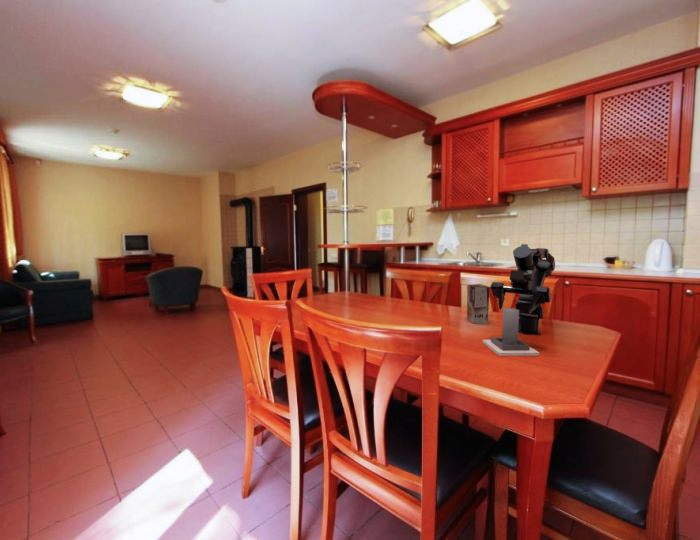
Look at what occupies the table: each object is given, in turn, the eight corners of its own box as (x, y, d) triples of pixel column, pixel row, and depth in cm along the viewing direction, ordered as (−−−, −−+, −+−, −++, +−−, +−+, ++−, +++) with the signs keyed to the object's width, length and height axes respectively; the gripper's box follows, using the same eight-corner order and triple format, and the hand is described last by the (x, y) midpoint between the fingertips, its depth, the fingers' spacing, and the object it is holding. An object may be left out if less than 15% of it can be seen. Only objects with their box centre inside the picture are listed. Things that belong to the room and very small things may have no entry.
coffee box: (488, 324, 143) (490, 287, 141) (473, 323, 143) (475, 287, 141) (480, 318, 152) (482, 283, 150) (466, 318, 152) (467, 283, 150)
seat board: (518, 342, 119) (518, 335, 119) (539, 355, 106) (539, 348, 106) (482, 342, 119) (482, 335, 118) (499, 355, 106) (499, 348, 106)
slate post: (507, 342, 116) (508, 307, 114) (520, 346, 111) (522, 310, 110) (498, 345, 113) (500, 309, 112) (511, 349, 109) (513, 312, 108)
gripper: (493, 260, 121) (481, 294, 115) (551, 263, 109) (542, 301, 102) (499, 278, 128) (487, 311, 121) (554, 283, 116) (545, 320, 109)
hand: (513, 311), depth 113 cm, fingers open, 9 cm apart
